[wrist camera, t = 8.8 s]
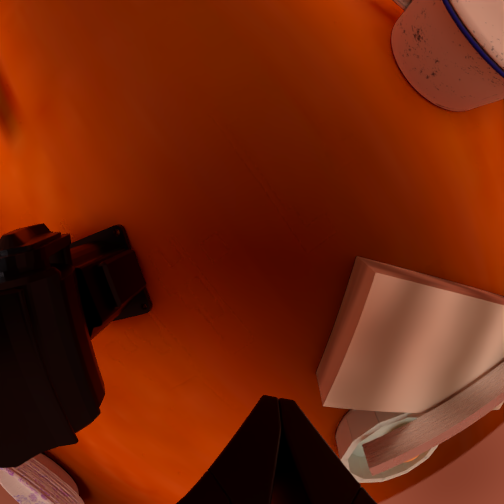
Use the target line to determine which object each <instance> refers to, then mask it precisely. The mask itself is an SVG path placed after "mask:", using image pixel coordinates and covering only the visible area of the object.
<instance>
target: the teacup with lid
mask: <svg viewBox="0 0 504 504" xmlns="http://www.w3.org/2000/svg"><path fill="white" fill-rule="evenodd" d="M393 1H394V2H395V3H396V4H397V5H399V6H400V7H401V8H402V9H403V10H404V12H403V14H402V15H401V16H400V17H399V19H398V20H397V21H396V23H395V25H394V27H393V30H392V36H391V43H392V49H393V53H394V56H395V59H396V62H397V64H398V66H399V68H400V70H401V71H402V73H403V74H404V76H405V77H406V79H407V80H408V81H409V83H410V84H411V85H412V86H413V87H414V88H415V89H416V90H417V91H418V92H419V93H420V94H421V95H422V96H423V97H425V98H426V99H427V100H429V101H430V102H432V103H433V104H435V105H437V106H439V107H441V108H444V109H447V110H450V111H467V110H470V109H473V108H476V107H479V106H482V105H485V104H489V103H492V102H495V101H498V100H501V99H504V0H393Z"/></svg>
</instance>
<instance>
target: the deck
mask: <svg viewBox="0 0 504 504" xmlns="http://www.w3.org/2000/svg"><path fill="white" fill-rule="evenodd" d="M503 362H504V296H501V295H498V294H494V293H491V292H487V291H484V290H480V289H477V288H473V287H470V286H466V285H463V284H459V283H455V282H452V281H448V280H445V279H441V278H437V277H434V276H430V275H426V274H423V273H419V272H415V271H412V270H408V269H404V268H400V267H397V266H393V265H389V264H385V263H381V262H378V261H374V260H370V259H366V258H362V257H358V256H356V260H355V263H354V266H353V270H352V273H351V276H350V279H349V282H348V285H347V289H346V292H345V295H344V298H343V301H342V304H341V307H340V310H339V313H338V315H337V318H336V321H335V324H334V327H333V329H332V332H331V335H330V338H329V340H328V343H327V346H326V348H325V351H324V354H323V356H322V359H321V361H320V364H319V366H318V369H317V371H316V375H317V380H318V385H319V389H320V394H321V399H322V404H323V406H327V407H335V408H345V409H355V410H367V411H382V412H403V413H428V412H430V411H431V410H433V409H435V408H437V407H438V406H440V405H442V404H443V403H445V402H447V401H448V400H450V399H451V398H453V397H455V396H456V395H458V394H459V393H461V392H462V391H464V390H465V389H467V388H468V387H470V386H471V385H473V384H474V383H476V382H477V381H479V380H480V379H481V378H483V377H484V376H486V375H487V374H488V373H490V372H491V371H492V370H494V369H495V368H496V367H498V366H499V365H500V364H501V363H503ZM503 402H504V401H503ZM503 402H502V403H501V404H499V405H498V406H497V407H495V408H494V409H493V410H498V409H500V407H501V406H502V404H503Z"/></svg>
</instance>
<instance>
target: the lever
mask: <svg viewBox="0 0 504 504" xmlns="http://www.w3.org/2000/svg"><path fill="white" fill-rule="evenodd" d="M503 401H504V362H503V363H501V364H500V365H499V366H498V367H496V368H495V369H494V370H492V371H491V372H490V373H488V374H487V375H486V376H484V377H483V378H481V379H480V380H479V381H477V382H476V383H474V384H473V385H471V386H470V387H468V388H467V389H465V390H464V391H462V392H461V393H459V394H458V395H456V396H455V397H453V398H451V399H450V400H448V401H447V402H445V403H443V404H442V405H440V406H438V407H437V408H435V409H433V410H431V411H430V412H428V413H426V414H424V415H422V416H421V417H419V418H417V419H415V420H413V421H411V422H409V423H407V424H405V425H403V426H401V427H399V428H397V429H395V430H393V431H391V432H389V433H387V434H385V435H383V436H381V437H378V438H376V439H374V440H372V441H369V442H367V443H365V444H362V446H363V450H364V453H365V457H366V460H367V463H368V467H369V470H370V472H371V474H372V476H374V475H376V474H379V473H381V472H384V471H386V470H388V469H390V468H393V467H395V466H397V465H399V464H401V463H404V462H406V461H408V460H410V459H412V458H414V457H416V456H418V455H420V454H422V453H424V452H426V451H427V450H429V449H431V448H433V447H435V446H437V445H438V444H440V443H442V442H444V441H445V440H447V439H449V438H450V437H452V436H454V435H455V434H457V433H459V432H460V431H462V430H463V429H465V428H466V427H468V426H470V425H471V424H473V423H474V422H476V421H477V420H478V419H480V418H481V417H483V416H484V415H486V414H487V413H488V412H490V411H491V410H493V409H494V408H495V407H497V406H498V405H499V404H501V403H502V402H503Z"/></svg>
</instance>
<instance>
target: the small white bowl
mask: <svg viewBox="0 0 504 504" xmlns="http://www.w3.org/2000/svg"><path fill="white" fill-rule="evenodd" d="M424 414H426V413H403V412H382V411H367V410H355V409H351V410H350V411H349V412H348V413H347V414H346V415H345V416H344V417H343V419H342V420H341V422H340V423H339V425H338V428H337V431H336V436H335V437H336V442H337V447H338V452H339V456H340V460H341V462H342V463H343V464H344V465H345V467H346V468H347V469H348V470H349V471H350V473H351V474H352V475H353V476H354V478H355V479H356V480H357V481H358V482H359V483H362V482H383V481H386V480H389V479H392V478H394V477H397V476H400V475H403V474H405V473H407V472H409V471H410V470H412V469H413V468H415V467H416V466H418V465H419V464H421V463H422V462H424V461H425V460H426V459H428V458H429V457H430V455H431V454H432V453H433V452H434V450H435V449H436V448H437V446H438V445H439V444H438V445H437V446H435V447H433V448H431V449H429V450H427V451H426V452H424V453H422V454H420V455H419V456H418V457H417V458H415V459H414V460H412V461H409V462H405V463H401V464H399V465H397V466H395V467H393V468H390V469H388V470H386V471H384V472H381V473H379V474H376V475H374V476H372V474H371V472H370V470H369V467H368V463H367V460H366V457H365V453H364V450H363V446H362V444H365V443H367V442H369V441H372V440H374V439H376V438H378V437H381V436H383V435H385V434H387V433H389V432H391V431H393V430H395V429H397V428H399V427H401V426H403V425H405V424H407V423H409V422H411V421H413V420H415V419H417V418H419V417H421V416H422V415H424Z"/></svg>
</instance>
